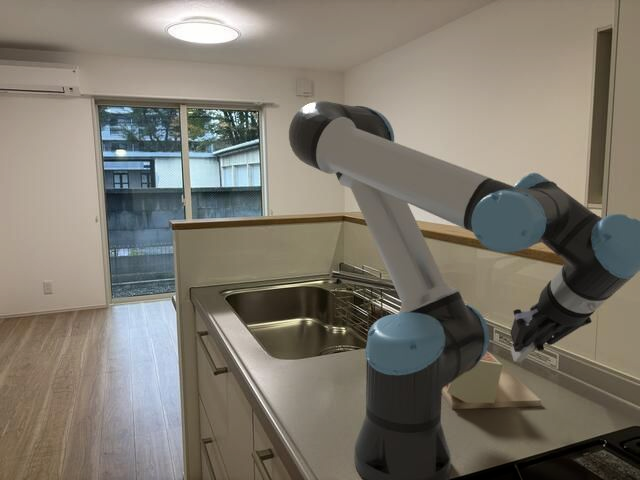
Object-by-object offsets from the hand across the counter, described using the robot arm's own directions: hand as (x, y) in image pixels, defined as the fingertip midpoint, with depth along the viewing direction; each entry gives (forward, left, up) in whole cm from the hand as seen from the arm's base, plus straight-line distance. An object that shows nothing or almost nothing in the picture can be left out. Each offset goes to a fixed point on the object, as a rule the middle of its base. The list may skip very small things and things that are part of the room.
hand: (515, 355), depth 92 cm
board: (-3, +9, -11) cm, 14 cm away
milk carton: (-8, 0, -5) cm, 10 cm away
